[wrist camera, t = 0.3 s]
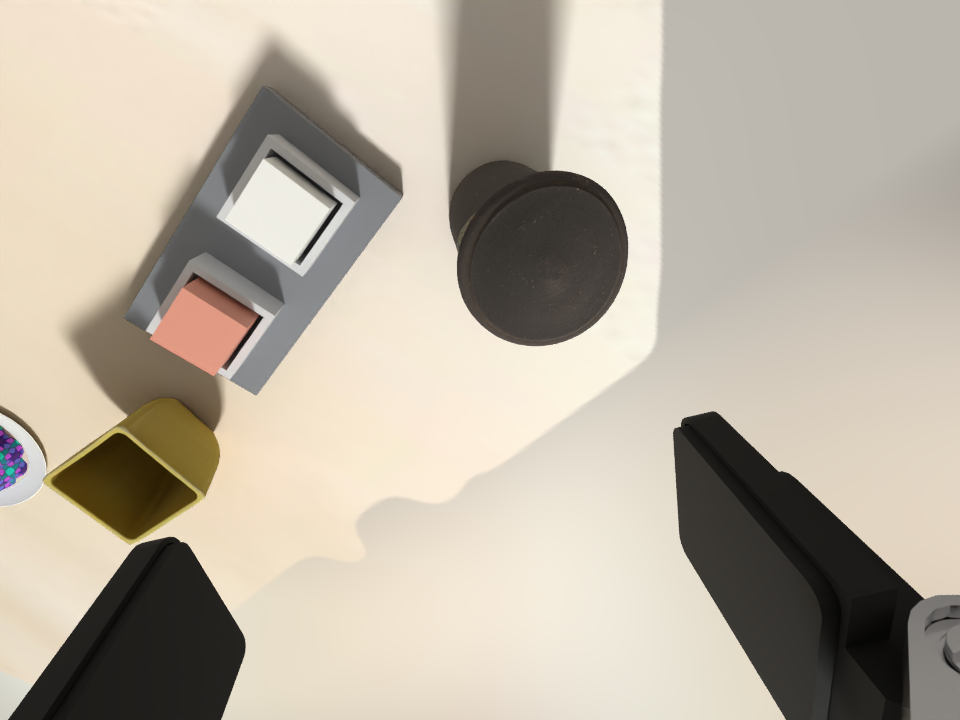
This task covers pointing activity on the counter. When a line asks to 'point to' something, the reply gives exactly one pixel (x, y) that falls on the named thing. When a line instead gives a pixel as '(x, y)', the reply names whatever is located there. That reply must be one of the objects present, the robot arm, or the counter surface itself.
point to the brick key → (204, 325)
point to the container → (536, 251)
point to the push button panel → (248, 265)
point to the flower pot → (141, 470)
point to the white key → (280, 210)
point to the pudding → (19, 464)
